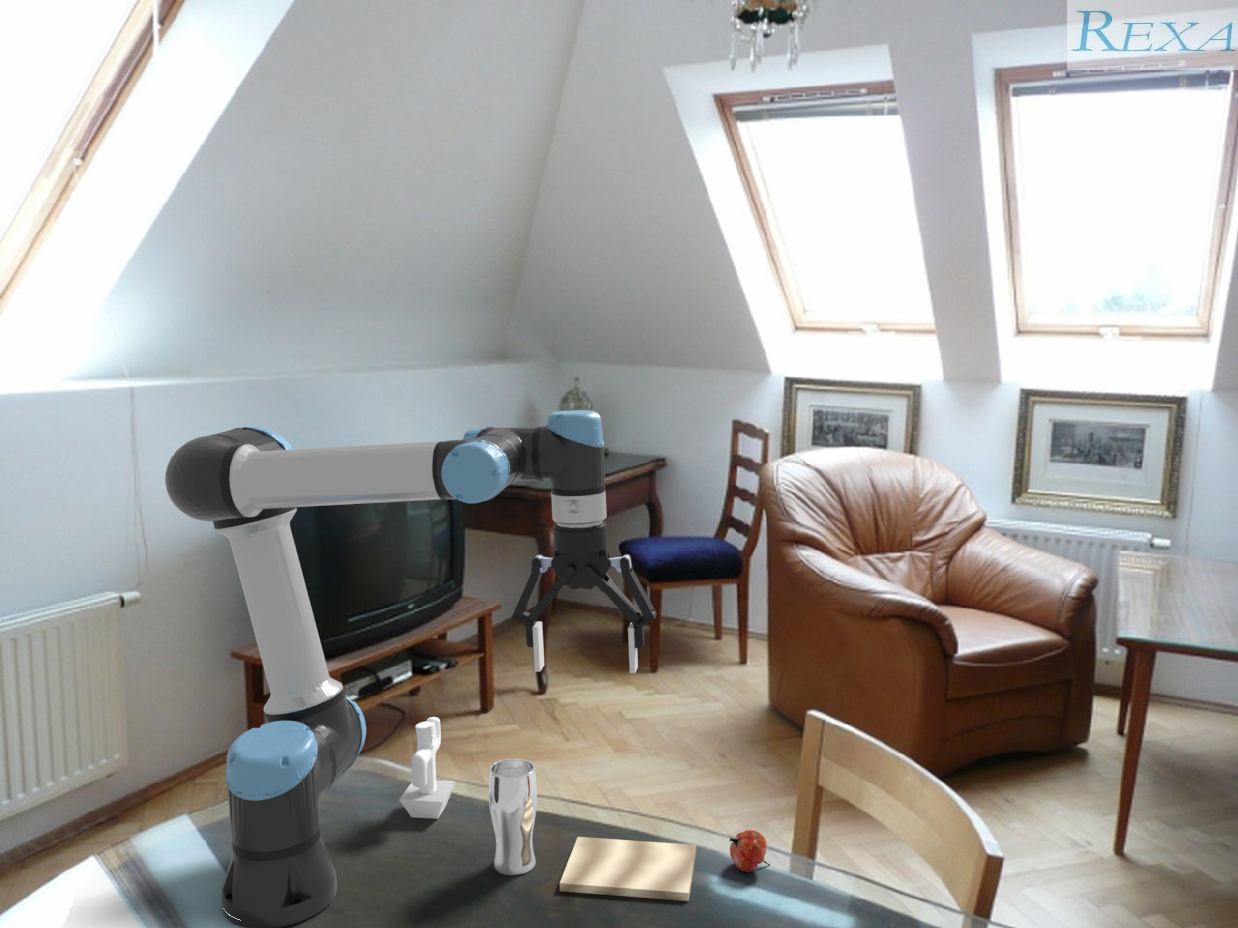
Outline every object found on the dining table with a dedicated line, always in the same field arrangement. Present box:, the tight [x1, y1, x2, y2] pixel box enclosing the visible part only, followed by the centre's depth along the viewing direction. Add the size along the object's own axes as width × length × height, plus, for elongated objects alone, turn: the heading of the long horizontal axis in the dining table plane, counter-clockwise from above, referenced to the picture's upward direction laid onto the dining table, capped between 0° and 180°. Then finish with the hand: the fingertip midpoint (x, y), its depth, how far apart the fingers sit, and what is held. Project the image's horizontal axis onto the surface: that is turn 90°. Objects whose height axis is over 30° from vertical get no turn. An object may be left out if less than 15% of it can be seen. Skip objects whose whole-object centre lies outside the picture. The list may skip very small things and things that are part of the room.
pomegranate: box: [728, 829, 771, 873], centre depth 150 cm, size 6×6×8 cm
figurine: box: [398, 716, 456, 820], centre depth 167 cm, size 7×9×15 cm
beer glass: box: [488, 757, 538, 876], centre depth 151 cm, size 7×7×15 cm
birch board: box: [559, 836, 697, 902], centre depth 150 cm, size 18×13×1 cm
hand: (586, 669), depth 147 cm, fingers open, 13 cm apart
